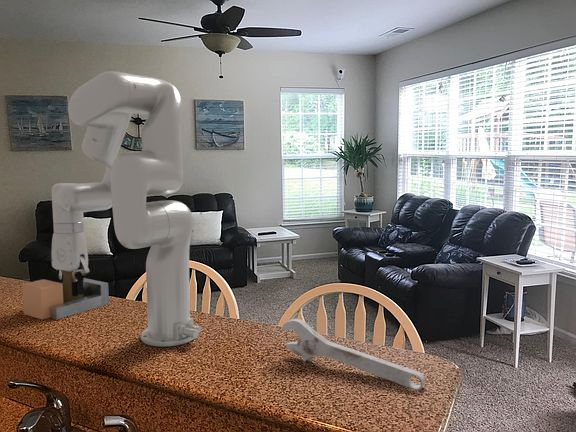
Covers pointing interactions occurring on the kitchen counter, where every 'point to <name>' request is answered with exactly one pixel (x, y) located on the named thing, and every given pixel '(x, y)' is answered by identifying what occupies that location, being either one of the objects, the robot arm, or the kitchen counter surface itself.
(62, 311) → the u-shaped metal bracket
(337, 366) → the kitchen counter surface
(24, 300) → the block
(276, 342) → the kitchen counter surface
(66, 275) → the cork
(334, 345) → the wrench
